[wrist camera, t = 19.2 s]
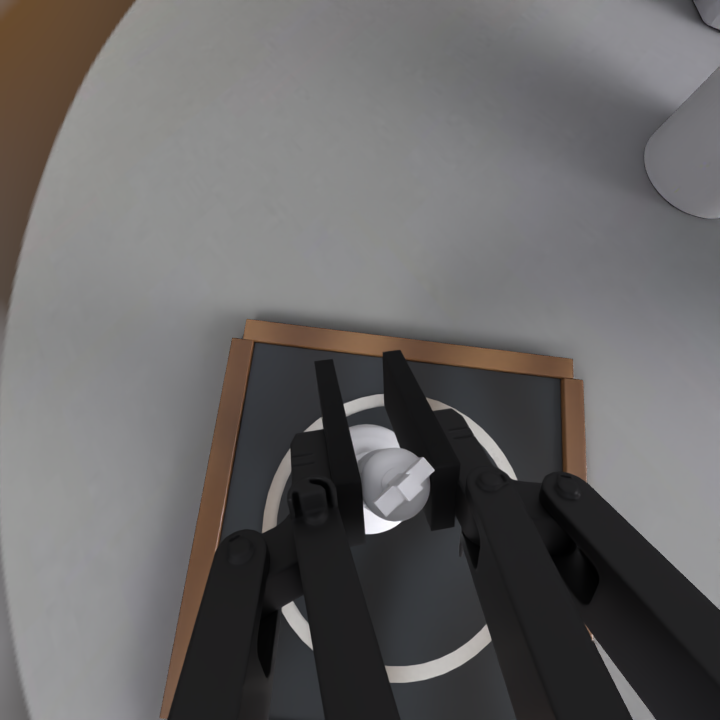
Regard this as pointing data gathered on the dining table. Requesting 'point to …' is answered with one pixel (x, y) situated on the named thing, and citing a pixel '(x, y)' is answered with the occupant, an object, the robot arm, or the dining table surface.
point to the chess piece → (388, 478)
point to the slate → (399, 544)
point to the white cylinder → (689, 153)
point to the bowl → (709, 12)
